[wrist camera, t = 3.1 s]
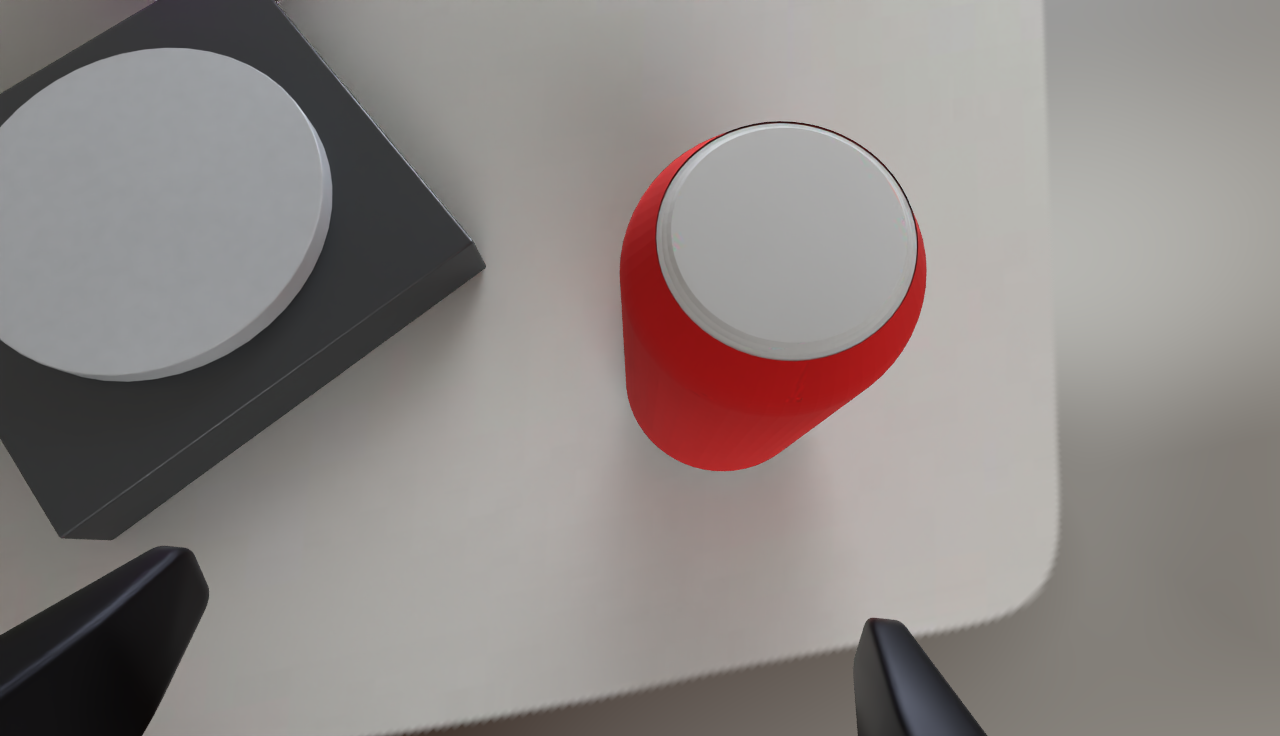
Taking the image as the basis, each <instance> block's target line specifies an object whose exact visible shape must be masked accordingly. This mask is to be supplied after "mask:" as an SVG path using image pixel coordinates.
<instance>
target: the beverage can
mask: <svg viewBox="0 0 1280 736" xmlns="http://www.w3.org/2000/svg"><path fill="white" fill-rule="evenodd" d="M620 286H621V303H622V320H623V338H624V355H625V372H626V388H627V394H628V399H629V403H630V406H631V409H632V411H633V414H634V416H635V418H636V420H637V422H638V424H639V425H640V427H641V428H642V430H643V431H644V433H645V434H646V435H647V436H648V438H649V439H650V440H651V441H652V442H653V443H654V444H655V445H656V446H657V447H658V448H660V449H661V450H662V451H663V452H665V453H666V454H668V455H669V456H671V457H672V458H674V459H676V460H678V461H680V462H682V463H684V464H687V465H690V466H692V467H696V468H700V469H704V470H711V471H734V470H740V469H745V468H749V467H752V466H755V465H758V464H760V463H763V462H765V461H767V460H769V459H770V458H772V457H774V456H775V455H777V454H778V453H780V452H781V451H782V450H784V449H785V448H787V447H788V446H789V445H791V444H792V443H793V442H795V441H796V440H797V439H799V438H800V437H802V436H803V435H804V434H806V433H807V432H808V431H810V430H811V429H812V428H814V427H815V426H816V425H818V424H819V423H821V422H822V421H823V420H825V419H826V418H827V417H829V416H830V415H831V414H833V413H834V412H835V411H837V410H838V409H840V408H841V407H842V406H844V405H845V404H846V403H848V402H849V401H850V400H852V399H853V398H855V397H856V396H857V395H859V394H860V393H861V392H863V391H864V390H865V389H867V388H868V387H869V386H871V385H872V384H873V383H874V382H875V381H876V380H878V379H879V378H880V377H881V376H882V375H883V374H884V373H885V372H886V371H887V370H888V369H889V368H890V366H891V365H892V364H893V363H894V362H895V360H896V359H897V358H898V356H899V355H900V354H901V352H902V351H903V349H904V348H905V346H906V344H907V342H908V341H909V339H910V337H911V335H912V333H913V331H914V328H915V326H916V323H917V321H918V319H919V315H920V312H921V308H922V305H923V300H924V294H925V288H926V255H925V249H924V244H923V239H922V235H921V232H920V229H919V225H918V223H917V220H916V218H915V216H914V213H913V211H912V208H911V206H910V204H909V201H908V199H907V197H906V195H905V193H904V191H903V189H902V187H901V186H900V184H899V183H898V181H897V180H896V179H895V177H894V176H893V174H892V173H891V172H890V171H889V170H888V169H887V167H886V166H885V165H884V164H883V163H882V162H881V161H880V160H879V159H878V158H877V157H876V156H874V155H873V154H872V153H871V152H869V151H868V150H867V149H865V148H864V147H862V146H861V145H859V144H858V143H856V142H855V141H853V140H851V139H849V138H847V137H845V136H843V135H841V134H839V133H836V132H834V131H831V130H829V129H825V128H822V127H819V126H815V125H810V124H805V123H797V122H781V121H778V122H764V123H758V124H752V125H748V126H744V127H740V128H737V129H734V130H732V131H729V132H726V133H724V134H721V135H718V136H716V137H713V138H711V139H709V140H707V141H705V142H702V143H700V144H698V145H697V146H695V147H693V148H692V149H690V150H688V151H687V152H685V153H684V154H682V155H681V156H680V157H678V158H677V159H676V160H674V161H673V162H672V163H671V164H670V165H669V166H668V167H667V168H665V169H664V170H663V171H662V172H661V173H660V174H659V176H658V177H657V178H656V179H655V180H654V181H653V182H652V184H651V185H650V186H649V188H648V189H647V191H646V192H645V193H644V195H643V196H642V198H641V200H640V201H639V203H638V205H637V207H636V209H635V210H634V212H633V215H632V217H631V220H630V222H629V224H628V227H627V231H626V234H625V237H624V241H623V246H622V252H621V259H620Z"/></svg>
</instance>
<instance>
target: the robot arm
mask: <svg viewBox="0 0 1280 736" xmlns="http://www.w3.org/2000/svg"><path fill="white" fill-rule="evenodd" d="M208 600H209V588H208V585H207V583H206V580H205V578H204V576H203V573H202V571H201V569H200V566H199V564H198V562H197V560H196V557H195V555H194V554H193V552H192V551H190V550H189V549H187V548H181V547H171V546H159V547H155V548H153V549H151V550H149V551H147V552H145V553H143V554H142V555H140V556H138V557H136V558H135V559H133V560H131V561H129V562H128V563H126V564H124V565H122V566H121V567H119V568H117V569H115V570H114V571H112V572H110V573H108V574H107V575H105V576H103V577H101V578H100V579H98V580H96V581H94V582H93V583H91V584H89V585H87V586H86V587H84V588H82V589H80V590H79V591H77V592H75V593H73V594H72V595H70V596H68V597H66V598H65V599H63V600H61V601H59V602H58V603H56V604H54V605H52V606H51V607H49V608H47V609H45V610H44V611H42V612H40V613H38V614H37V615H35V616H33V617H31V618H30V619H28V620H26V621H24V622H23V623H21V624H19V625H17V626H16V627H14V628H12V629H10V630H9V631H7V632H5V633H3V634H2V635H0V736H142V735H143V733H144V731H145V730H146V728H147V726H148V724H149V723H150V721H151V719H152V717H153V716H154V714H155V712H156V710H157V708H158V706H159V704H160V702H161V700H162V698H163V696H164V694H165V692H166V690H167V688H168V686H169V684H170V682H171V680H172V678H173V675H174V673H175V671H176V669H177V667H178V665H179V663H180V661H181V659H182V657H183V655H184V653H185V651H186V648H187V646H188V644H189V642H190V640H191V638H192V636H193V634H194V632H195V630H196V628H197V626H198V623H199V621H200V619H201V617H202V615H203V613H204V611H205V609H206V606H207V603H208ZM853 674H854V690H855V703H856V715H857V728H858V736H987V735H986V733H985V732H984V731H983V729H982V728H981V727H980V726H979V724H978V723H977V721H976V720H975V719H974V717H973V716H972V715H971V713H970V712H969V711H968V709H967V708H966V707H965V705H964V704H963V703H962V701H961V700H960V699H959V698H958V696H957V695H956V693H955V692H954V691H953V689H952V688H951V687H950V685H949V684H948V683H947V681H946V680H945V679H944V677H943V676H942V675H941V673H940V672H939V671H938V669H937V668H936V667H935V665H934V664H933V663H932V661H931V660H930V659H929V657H928V656H927V655H926V653H925V652H924V651H923V649H922V648H921V647H920V645H919V644H918V643H917V641H916V640H915V639H914V637H913V636H912V635H911V633H910V632H909V631H908V629H907V628H906V627H905V625H904V624H902V623H901V622H899V621H897V620H890V619H880V618H870V619H868V620H867V621H866V623H865V625H864V628H863V631H862V635H861V638H860V641H859V645H858V648H857V651H856V654H855V658H854V668H853Z"/></svg>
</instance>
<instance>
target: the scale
mask: <svg viewBox="0 0 1280 736" xmlns="http://www.w3.org/2000/svg"><path fill="white" fill-rule="evenodd" d="M485 267H486V266H485V263H484V261H483V260H482V258H481V256H480V254H479V252H478V250H477V248H476V246H475V244H474V242H473V240H472V239H471V238H470V237H469V235H468V234H467V233H466V232H465V231H464V229H463V228H462V227H461V226H460V225H459V223H458V222H457V221H456V220H455V219H454V217H453V216H452V215H451V214H450V213H449V211H448V210H447V209H446V208H445V207H444V205H443V204H442V203H441V202H440V200H439V199H438V198H437V197H436V196H435V194H434V193H433V192H432V191H431V190H430V188H429V187H428V186H427V185H426V184H425V182H424V181H423V180H422V179H421V178H420V176H419V175H418V174H417V173H416V172H415V170H414V169H413V168H412V167H411V165H410V164H409V163H408V162H407V161H406V159H405V158H404V157H403V156H402V155H401V153H400V152H399V151H398V150H397V149H396V147H395V146H394V145H393V144H392V143H391V141H390V140H389V139H388V138H387V137H386V135H385V134H384V133H383V132H382V130H381V129H380V128H379V127H378V126H377V124H376V123H375V122H374V121H373V120H372V118H371V117H370V116H369V115H368V114H367V112H366V111H365V110H364V109H363V108H362V106H361V105H360V104H359V103H358V101H357V100H356V99H355V98H354V97H353V95H352V94H351V93H350V92H349V91H348V89H347V88H346V87H345V86H344V85H343V83H342V82H341V81H340V80H339V79H338V77H337V76H336V75H335V74H334V73H333V71H332V70H331V69H330V68H329V66H328V65H327V64H326V63H325V62H324V60H323V59H322V58H321V57H320V56H319V54H318V53H317V52H316V51H315V50H314V48H313V47H312V46H311V45H310V44H309V42H308V41H307V40H306V39H305V38H304V36H303V35H302V34H301V33H300V31H299V30H298V29H297V28H296V27H295V25H294V24H293V23H292V22H291V21H290V19H289V18H288V17H287V16H286V15H285V13H284V12H283V11H282V10H281V9H280V7H279V6H278V5H277V4H276V3H275V1H274V0H157V1H156V2H154V3H152V4H150V5H149V6H147V7H145V8H144V9H142V10H140V11H139V12H137V13H135V14H134V15H132V16H130V17H129V18H127V19H125V20H124V21H122V22H120V23H119V24H117V25H115V26H113V27H112V28H110V29H108V30H107V31H105V32H103V33H102V34H100V35H98V36H97V37H95V38H93V39H92V40H90V41H88V42H87V43H85V44H83V45H82V46H80V47H78V48H76V49H75V50H73V51H71V52H70V53H68V54H66V55H65V56H63V57H61V58H60V59H58V60H56V61H55V62H53V63H51V64H50V65H48V66H46V67H45V68H43V69H41V70H39V71H38V72H36V73H34V74H33V75H31V76H29V77H28V78H26V79H24V80H23V81H21V82H19V83H18V84H16V85H14V86H13V87H11V88H9V89H8V90H6V91H4V92H2V93H1V94H0V439H1V440H2V442H3V444H4V445H5V447H6V449H7V450H8V452H9V454H10V456H11V457H12V459H13V461H14V462H15V464H16V466H17V467H18V469H19V471H20V472H21V474H22V476H23V477H24V479H25V481H26V482H27V484H28V486H29V487H30V489H31V491H32V492H33V494H34V496H35V497H36V499H37V501H38V502H39V504H40V506H41V507H42V509H43V511H44V512H45V514H46V516H47V517H48V519H49V521H50V522H51V524H52V526H53V527H54V529H55V531H56V532H57V534H58V536H59V537H60V538H65V539H92V540H113V539H114V538H116V537H117V536H118V535H120V534H121V533H123V532H124V531H125V530H127V529H128V528H129V527H131V526H132V525H134V524H135V523H136V522H138V521H139V520H140V519H142V518H143V517H145V516H146V515H147V514H149V513H150V512H151V511H153V510H154V509H156V508H157V507H158V506H160V505H161V504H162V503H164V502H165V501H166V500H168V499H169V498H171V497H172V496H173V495H175V494H176V493H177V492H179V491H180V490H182V489H183V488H184V487H186V486H187V485H188V484H190V483H191V482H193V481H194V480H195V479H197V478H198V477H199V476H201V475H202V474H204V473H205V472H206V471H208V470H209V469H210V468H212V467H213V466H214V465H216V464H217V463H219V462H220V461H221V460H223V459H224V458H225V457H227V456H228V455H230V454H231V453H232V452H234V451H235V450H236V449H238V448H239V447H241V446H242V445H243V444H245V443H246V442H247V441H249V440H250V439H252V438H253V437H254V436H256V435H257V434H258V433H260V432H261V431H262V430H264V429H265V428H267V427H268V426H269V425H271V424H272V423H273V422H275V421H276V420H278V419H279V418H280V417H282V416H283V415H284V414H286V413H287V412H289V411H290V410H291V409H293V408H294V407H295V406H297V405H298V404H300V403H301V402H302V401H304V400H305V399H306V398H308V397H309V396H310V395H312V394H313V393H315V392H316V391H317V390H319V389H320V388H321V387H323V386H324V385H326V384H327V383H328V382H330V381H331V380H332V379H334V378H335V377H337V376H338V375H339V374H341V373H342V372H343V371H345V370H346V369H348V368H349V367H350V366H352V365H353V364H354V363H356V362H357V361H358V360H360V359H361V358H363V357H364V356H365V355H367V354H368V353H369V352H371V351H372V350H374V349H375V348H376V347H378V346H379V345H380V344H382V343H383V342H385V341H386V340H387V339H389V338H390V337H391V336H393V335H394V334H396V333H397V332H398V331H400V330H401V329H402V328H404V327H405V326H406V325H408V324H409V323H411V322H412V321H413V320H415V319H416V318H417V317H419V316H420V315H422V314H423V313H424V312H426V311H427V310H428V309H430V308H431V307H433V306H434V305H435V304H437V303H438V302H439V301H441V300H442V299H444V298H445V297H446V296H448V295H449V294H450V293H452V292H453V291H454V290H456V289H457V288H459V287H460V286H461V285H463V284H464V283H465V282H467V281H468V280H470V279H471V278H472V277H474V276H475V275H476V274H478V273H479V272H481V271H482V270H483V269H485Z"/></svg>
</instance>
